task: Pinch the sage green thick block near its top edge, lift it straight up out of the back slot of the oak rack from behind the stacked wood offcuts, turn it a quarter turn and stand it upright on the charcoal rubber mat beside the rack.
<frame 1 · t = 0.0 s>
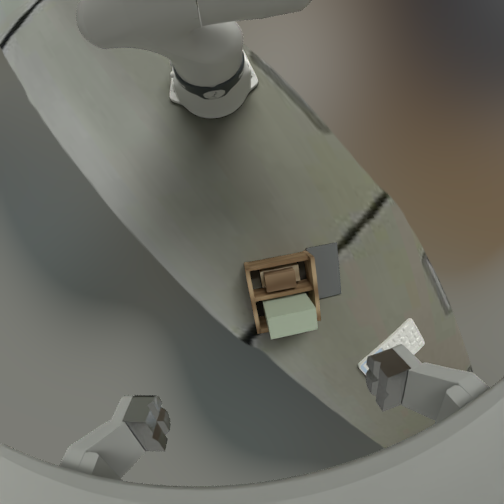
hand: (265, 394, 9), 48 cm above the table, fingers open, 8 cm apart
mat: (324, 271, 59), on the table
sage green thick block: (282, 299, 60), resting in rack
offcut lower: (278, 272, 59), resting in rack
offcut upper: (278, 277, 56), point 3 cm above the table
calculator: (391, 352, 67), on the table
rack: (280, 287, 59), on the table
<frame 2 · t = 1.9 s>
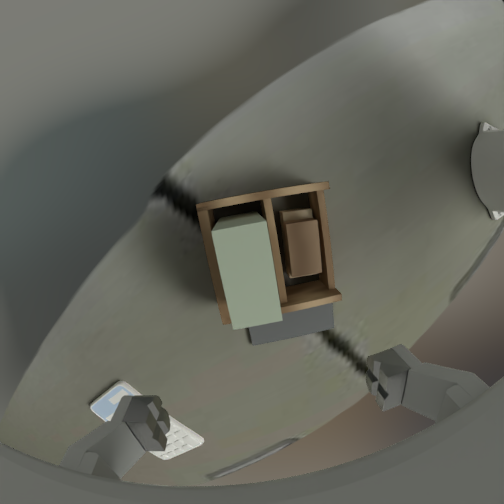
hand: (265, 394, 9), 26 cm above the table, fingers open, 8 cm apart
mat: (290, 314, 37), on the table
sage green thick block: (244, 249, 35), resting in rack
offcut lower: (295, 239, 35), resting in rack, touching offcut upper
offcut upper: (299, 244, 32), point 3 cm above the table, touching offcut lower
calculator: (146, 422, 41), on the table
rack: (268, 244, 35), on the table
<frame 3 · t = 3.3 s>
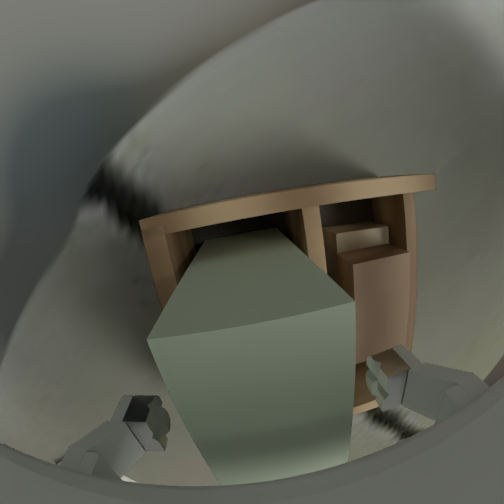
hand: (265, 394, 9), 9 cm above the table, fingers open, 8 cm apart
sage green thick block: (252, 300, 18), resting in rack
offcut lower: (347, 279, 18), resting in rack, touching offcut upper
offcut upper: (364, 295, 16), point 3 cm above the table, touching offcut lower
rack: (297, 291, 18), on the table
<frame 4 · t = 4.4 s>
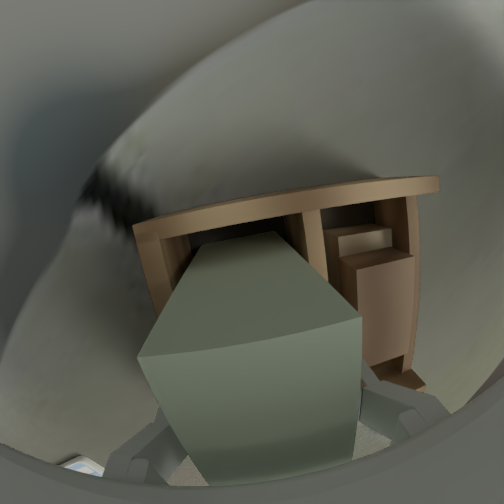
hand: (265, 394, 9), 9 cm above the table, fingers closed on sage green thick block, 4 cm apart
sage green thick block: (251, 305, 17), resting in rack, touching gripper
offcut lower: (349, 283, 18), resting in rack
offcut upper: (367, 300, 15), point 3 cm above the table
calculator: (123, 492, 24), on the table
rack: (297, 296, 18), on the table
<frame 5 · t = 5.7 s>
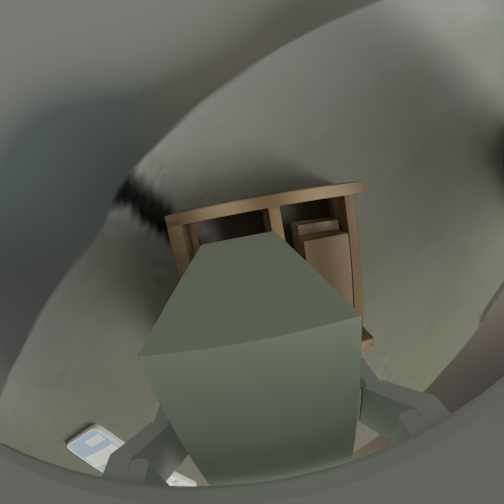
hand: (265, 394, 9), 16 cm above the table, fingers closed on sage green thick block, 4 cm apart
sage green thick block: (250, 305, 18), point 7 cm above the table, touching gripper
offcut lower: (312, 261, 25), resting in rack, touching offcut upper
offcut upper: (320, 267, 22), point 3 cm above the table, touching offcut lower
calculator: (129, 464, 31), on the table
rack: (272, 270, 25), on the table
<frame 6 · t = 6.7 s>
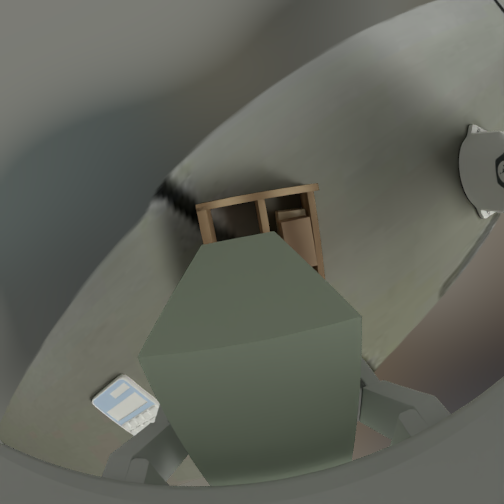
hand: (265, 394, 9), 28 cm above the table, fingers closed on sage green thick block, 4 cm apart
sage green thick block: (251, 305, 18), point 20 cm above the table, touching gripper
offcut lower: (290, 238, 37), resting in rack, touching offcut upper
offcut upper: (295, 241, 34), point 3 cm above the table, touching offcut lower
calculator: (146, 415, 43), on the table
rack: (262, 242, 37), on the table
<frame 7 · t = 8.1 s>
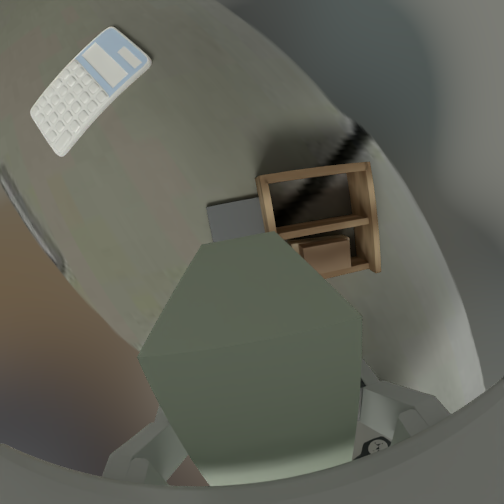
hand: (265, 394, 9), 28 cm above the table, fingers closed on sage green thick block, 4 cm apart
mat: (241, 246, 37), on the table
sage green thick block: (251, 305, 18), point 20 cm above the table, touching gripper
offcut lower: (315, 249, 38), resting in rack, touching offcut upper
offcut upper: (321, 253, 35), point 3 cm above the table, touching offcut lower
calculator: (86, 88, 30), on the table
rack: (313, 221, 36), on the table
when the fingers open (10 cm above the table, at t = 12.1 s): sage green thick block stays where it is, resting on mat.
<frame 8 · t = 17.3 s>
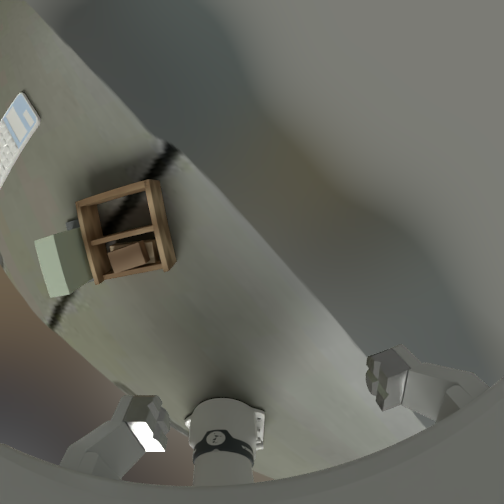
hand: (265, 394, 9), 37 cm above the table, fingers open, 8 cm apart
sage green thick block: (87, 250, 43), resting on mat
offcut lower: (137, 250, 45), resting in rack, touching offcut upper
offcut upper: (131, 255, 42), point 3 cm above the table, touching offcut lower
calculator: (10, 140, 38), on the table
rack: (131, 229, 44), on the table
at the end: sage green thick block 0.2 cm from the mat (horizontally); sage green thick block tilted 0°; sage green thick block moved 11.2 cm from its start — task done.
